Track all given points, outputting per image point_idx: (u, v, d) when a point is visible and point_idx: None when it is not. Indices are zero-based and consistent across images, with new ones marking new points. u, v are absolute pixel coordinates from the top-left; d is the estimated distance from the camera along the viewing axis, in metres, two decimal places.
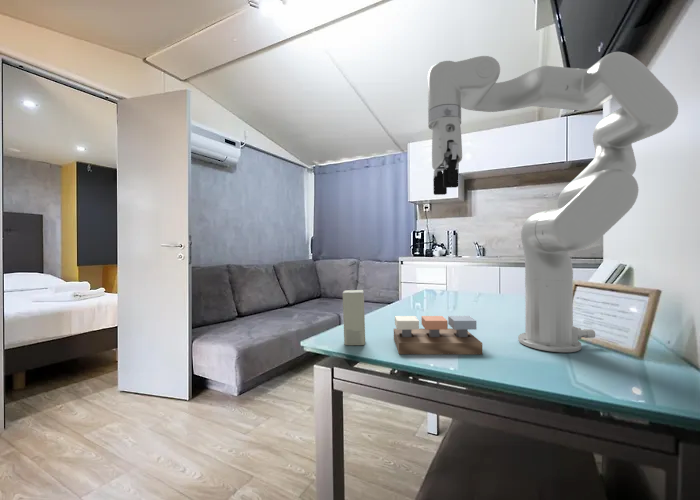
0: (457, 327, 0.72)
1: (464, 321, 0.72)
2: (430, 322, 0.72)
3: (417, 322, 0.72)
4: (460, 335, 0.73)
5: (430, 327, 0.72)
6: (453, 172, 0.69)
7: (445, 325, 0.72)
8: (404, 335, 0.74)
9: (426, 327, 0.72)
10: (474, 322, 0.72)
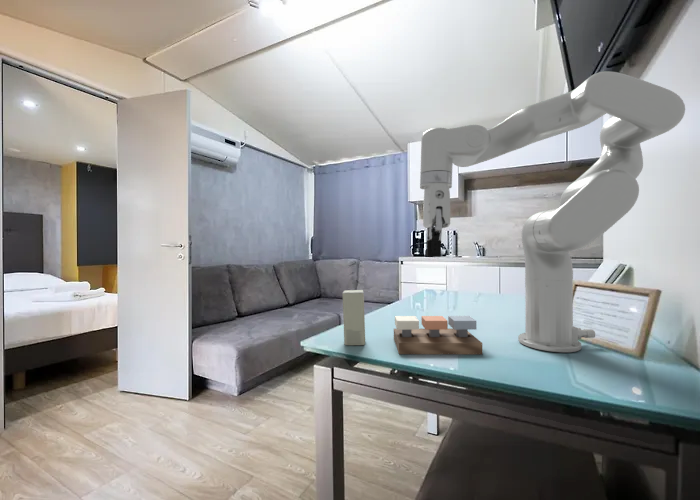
0: (457, 327, 0.72)
1: (464, 321, 0.72)
2: (430, 322, 0.72)
3: (417, 322, 0.72)
4: (460, 335, 0.73)
5: (430, 327, 0.72)
6: (436, 244, 0.76)
7: (445, 325, 0.72)
8: (404, 335, 0.74)
9: (426, 327, 0.72)
10: (474, 322, 0.72)
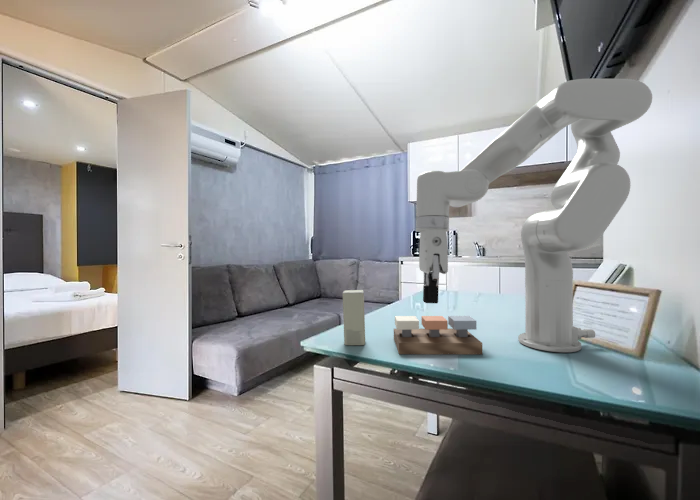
0: (457, 327, 0.72)
1: (464, 321, 0.72)
2: (430, 322, 0.72)
3: (417, 322, 0.72)
4: (460, 335, 0.73)
5: (430, 327, 0.72)
6: (433, 290, 0.73)
7: (445, 325, 0.72)
8: (404, 335, 0.74)
9: (426, 327, 0.72)
10: (474, 322, 0.72)
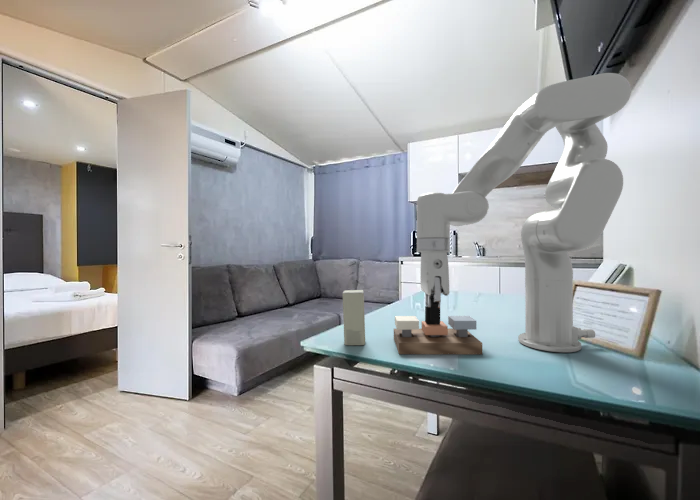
0: (457, 327, 0.72)
1: (464, 321, 0.72)
2: (430, 328, 0.72)
3: (417, 322, 0.72)
4: (460, 335, 0.73)
5: (430, 333, 0.72)
6: (435, 312, 0.73)
7: (445, 330, 0.72)
8: (404, 335, 0.74)
9: (426, 333, 0.72)
10: (474, 322, 0.72)
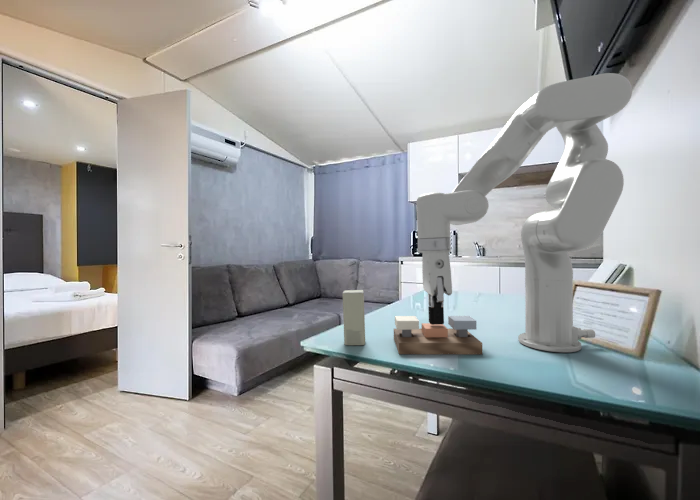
0: (457, 327, 0.72)
1: (464, 321, 0.72)
2: (430, 330, 0.72)
3: (417, 322, 0.72)
4: (460, 335, 0.73)
5: (430, 335, 0.72)
6: (438, 312, 0.73)
7: (445, 333, 0.72)
8: (404, 335, 0.74)
9: (426, 335, 0.72)
10: (474, 322, 0.72)
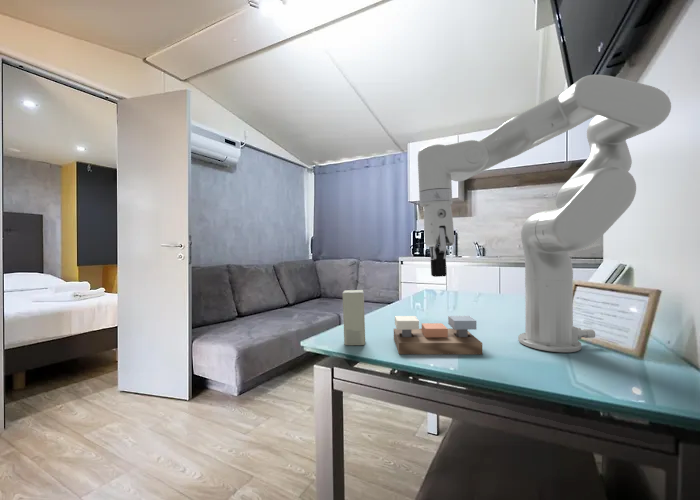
0: (457, 327, 0.72)
1: (464, 321, 0.72)
2: (430, 330, 0.72)
3: (417, 322, 0.72)
4: (460, 335, 0.73)
5: (430, 335, 0.72)
6: (441, 263, 0.74)
7: (445, 333, 0.72)
8: (404, 335, 0.74)
9: (426, 335, 0.72)
10: (474, 322, 0.72)
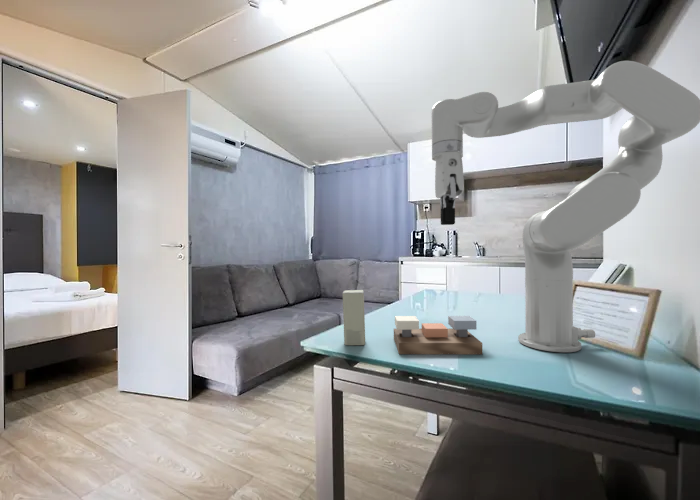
0: (457, 327, 0.72)
1: (464, 321, 0.72)
2: (430, 330, 0.72)
3: (417, 322, 0.72)
4: (460, 335, 0.73)
5: (430, 335, 0.72)
6: (450, 211, 0.79)
7: (445, 333, 0.72)
8: (404, 335, 0.74)
9: (426, 335, 0.72)
10: (474, 322, 0.72)
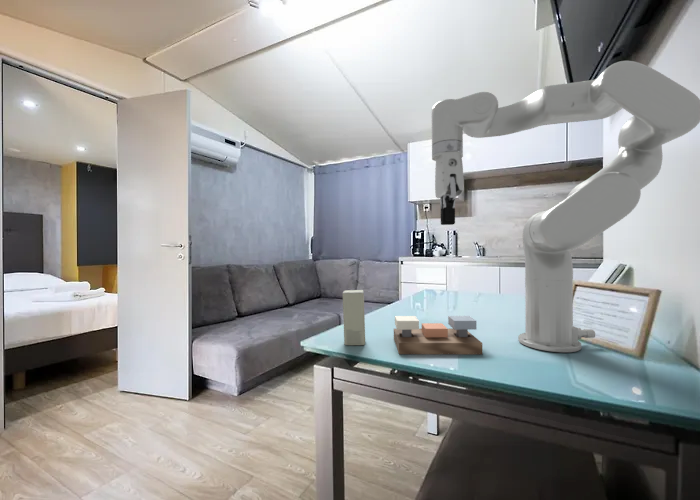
0: (457, 327, 0.72)
1: (464, 321, 0.72)
2: (430, 330, 0.72)
3: (417, 322, 0.72)
4: (460, 335, 0.73)
5: (430, 335, 0.72)
6: (450, 211, 0.79)
7: (445, 333, 0.72)
8: (404, 335, 0.74)
9: (426, 335, 0.72)
10: (474, 322, 0.72)
